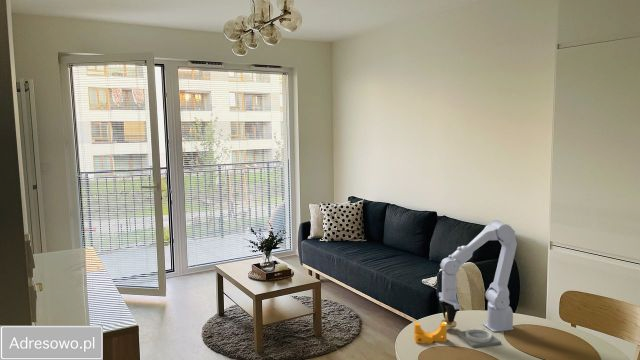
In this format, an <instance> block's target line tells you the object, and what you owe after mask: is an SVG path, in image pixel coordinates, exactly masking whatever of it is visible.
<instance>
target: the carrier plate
mask: <svg viewBox="0 0 640 360" xmlns="http://www.w3.org/2000/svg"><path fill="white" fill-rule="evenodd" d="M456 335H457V336H458V337H459V338H460V339H462V340H463V341H464V342H465V343H466V344H467V345H468V346H470V347H471V348H480V347H488V346H489V347H491V346H497V345H502V341H501V340H500V339H499V338H497V337H496V336H494V335H493V334H492V333H491V332H490V331H488V330H486V329H485V328H468V329H467V330H462V331H456Z"/></svg>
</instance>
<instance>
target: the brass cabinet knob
mask: <svg viewBox="0 0 640 360" xmlns="http://www.w3.org/2000/svg"><path fill="white" fill-rule="evenodd" d="M440 323H446V325H447V328H450V329H453V328H456V327H457V321H455V320H454V322H448V317H447V312H445V318H444V319H442V320H441V321H440Z"/></svg>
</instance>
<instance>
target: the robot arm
mask: <svg viewBox="0 0 640 360" xmlns="http://www.w3.org/2000/svg"><path fill="white" fill-rule="evenodd" d="M515 233H516V231H515V230H514V228H512V226H511V225H509V224H508V223H506V224H505V223H504V222H502V221H500V220H498V219H497V220H496V219H495V220H492V221H491V222H490V223H489V224H487V225H486V226H485V227H484V228H483V230H481V232H480V233H479V234H477V235H476V236H475V237H474V238H473V239H472V240H471V241H470V242H469V243H468V244H467V245H461V246H457V248H456V250H455V251H454V252H453V253H451V254H449V255H448V257H445V258H443V259H442V260H441V262H440V263H439V266H440V269H441V271H442V272H441V292H440V291H439V292H438V297H439V299H438V300H439V301H438V303H439V305H440V308H441V310H442V311H441V312H442V315H443V318H444V319H445V312H447V317H448V322H454V321H455V317H456V314H457V312H458V310H461V304H460V302H459V300H458V298H457V282H458V281H457V273H459V270H460V267H462V265H464V264H466V262H467V261H469V260H470V259H471V258H473V254H474V252H475V251H476V250H478V249H479V248H480V247H482V246H483V245H484V244H486V243H487V242H488V241H498V242H499V243H500V245H501V249H500V253H499V257H498V260H497V261H498V262H497V267H496V270H495V274H494V278H493V282H491V283H490V284H489V287H488V288H487V290H486V291H485V299H486V300H487V317H486V318H487V321H486V322H483V323H482V325H483V326H484V327H486V328H487V329H489V330H490V331H491V332H494V333H496V332H505V331H513V330H515V329H514V327H513V326H514V325H513V324H514V312H513V309H512V307H511V306H510V301H511V300H510V290H509V288H508V285H509V280H510V277H511V275H510V274H511V271H512V269H513V267H512V266H513V264H514V259H515V256H516V255H515V254H516V250H517V246H518V244H517V239H516V235H515Z"/></svg>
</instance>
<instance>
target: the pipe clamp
mask: <svg viewBox="0 0 640 360" xmlns="http://www.w3.org/2000/svg"><path fill="white" fill-rule="evenodd" d="M413 325H414V329H413V330H414V331H413V333H414V334H413V338H414V341H415V344H433V343H434V342H447V334H448V333H447V328H448V327H447V325H446V323H441V322H440V323H439V327H438V328H437V329H436V330H435V331H433V332H428V331H425V330H423V329H422V327H421V323H420V322H414V323H413Z"/></svg>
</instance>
